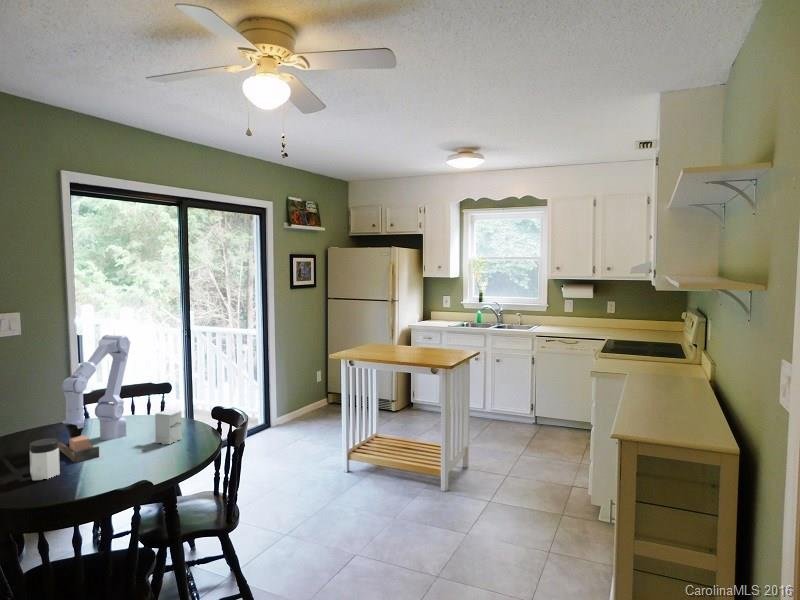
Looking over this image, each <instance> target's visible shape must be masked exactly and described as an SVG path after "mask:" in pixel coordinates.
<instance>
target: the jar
mask: <svg viewBox="0 0 800 600" xmlns="http://www.w3.org/2000/svg"><path fill="white" fill-rule="evenodd" d="M58 442H59V439H58V438H53V437H52V438H50V437H49V438H43V439H42V438H41V439H37V440H34V441H32V442H30V443H29V468H30V469H29V472H30V478H31V480H32V481H42V480H43V479H47V480H50V479H51V477H52V478H55V477H56V475H57V476H59V475H60V474H61V471H60V470H61V469H60V450H59V448H58ZM54 476H55V477H54ZM49 478H50V479H49ZM43 481H44V480H43Z"/></svg>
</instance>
